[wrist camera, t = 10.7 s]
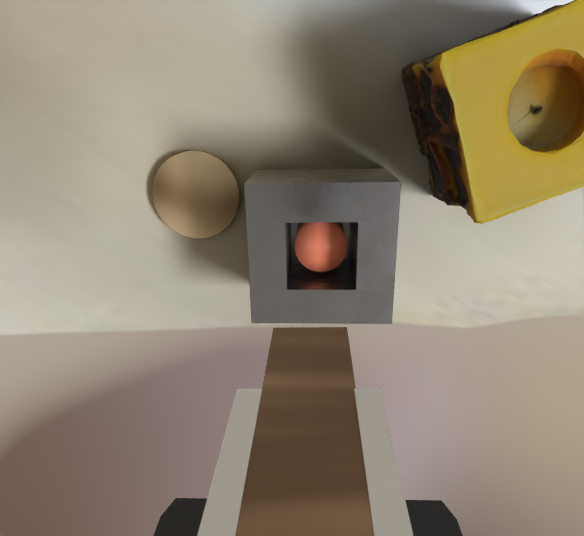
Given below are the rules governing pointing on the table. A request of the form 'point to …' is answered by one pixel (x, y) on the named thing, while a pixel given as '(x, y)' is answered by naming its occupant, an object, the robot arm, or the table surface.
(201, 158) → the coaster
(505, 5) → the table surface
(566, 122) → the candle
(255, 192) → the box
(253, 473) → the dowel
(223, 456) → the robot arm
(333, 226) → the orange ball
